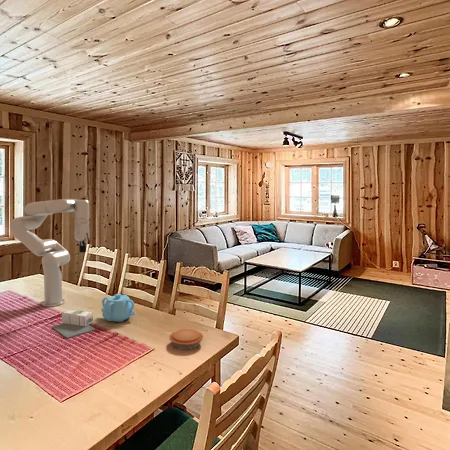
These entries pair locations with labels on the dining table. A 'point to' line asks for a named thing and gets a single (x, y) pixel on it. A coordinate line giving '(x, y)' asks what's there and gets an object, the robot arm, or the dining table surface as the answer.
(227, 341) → the dining table surface
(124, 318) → the decorative pot
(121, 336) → the dining table surface
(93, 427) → the dining table surface
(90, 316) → the syrup box
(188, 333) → the pie
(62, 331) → the mat
